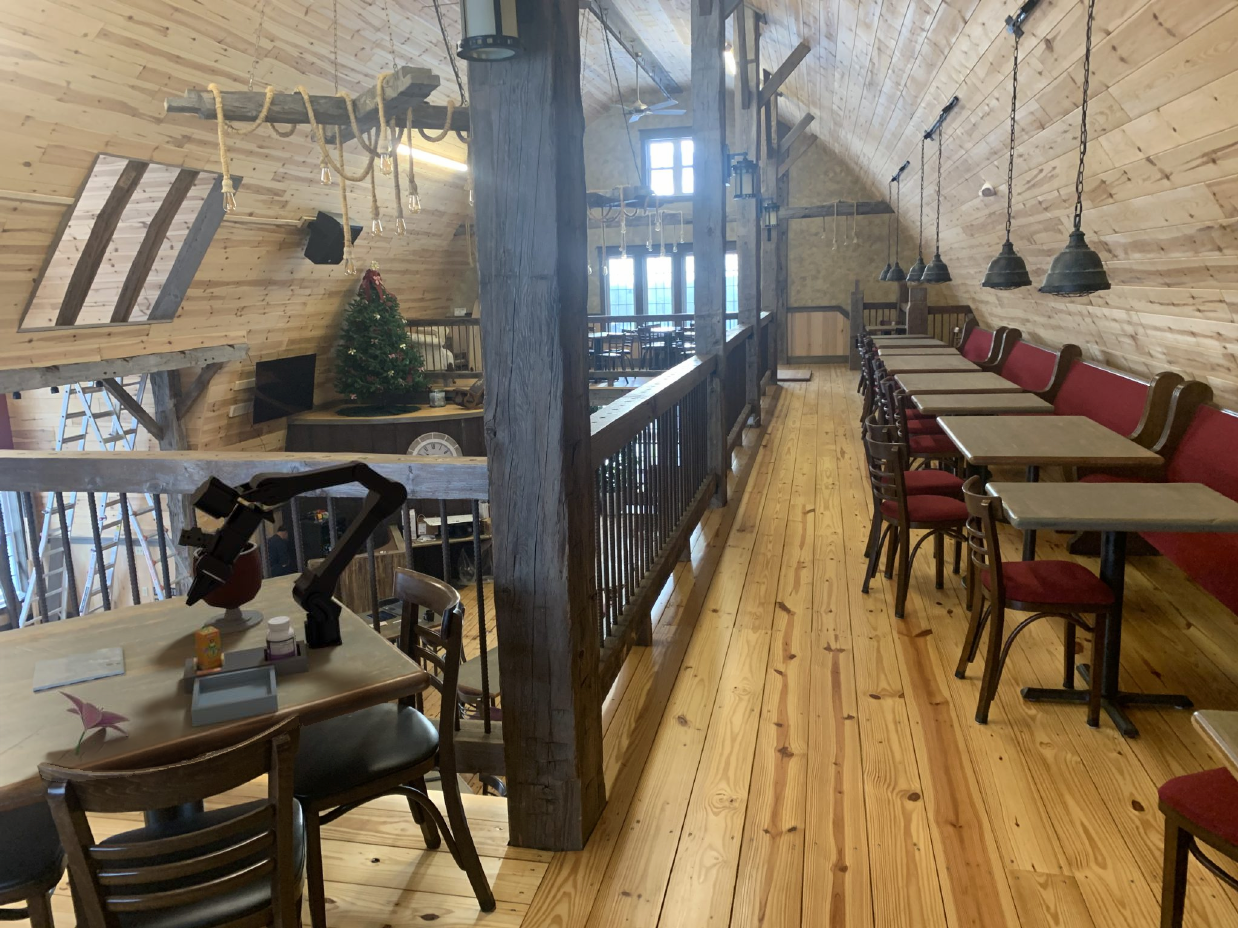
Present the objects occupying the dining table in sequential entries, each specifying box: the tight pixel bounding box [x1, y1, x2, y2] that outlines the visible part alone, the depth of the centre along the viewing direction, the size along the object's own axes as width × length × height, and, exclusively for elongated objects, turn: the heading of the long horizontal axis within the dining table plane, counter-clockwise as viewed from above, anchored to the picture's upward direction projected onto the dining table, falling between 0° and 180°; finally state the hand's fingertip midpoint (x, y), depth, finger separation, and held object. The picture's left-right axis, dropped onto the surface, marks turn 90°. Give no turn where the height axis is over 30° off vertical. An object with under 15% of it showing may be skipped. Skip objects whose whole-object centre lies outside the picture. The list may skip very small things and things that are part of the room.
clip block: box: [182, 639, 309, 694], centre depth 171 cm, size 22×9×4 cm, turn 113°
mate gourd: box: [192, 529, 265, 634], centre depth 196 cm, size 16×14×20 cm
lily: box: [58, 691, 131, 756], centre depth 145 cm, size 12×12×10 cm
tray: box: [190, 665, 279, 728], centre depth 159 cm, size 14×14×3 cm
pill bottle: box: [265, 615, 297, 661], centre depth 173 cm, size 5×5×10 cm
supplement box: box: [193, 626, 222, 671], centre depth 168 cm, size 3×4×10 cm
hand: (188, 601), depth 169 cm, fingers open, 9 cm apart
